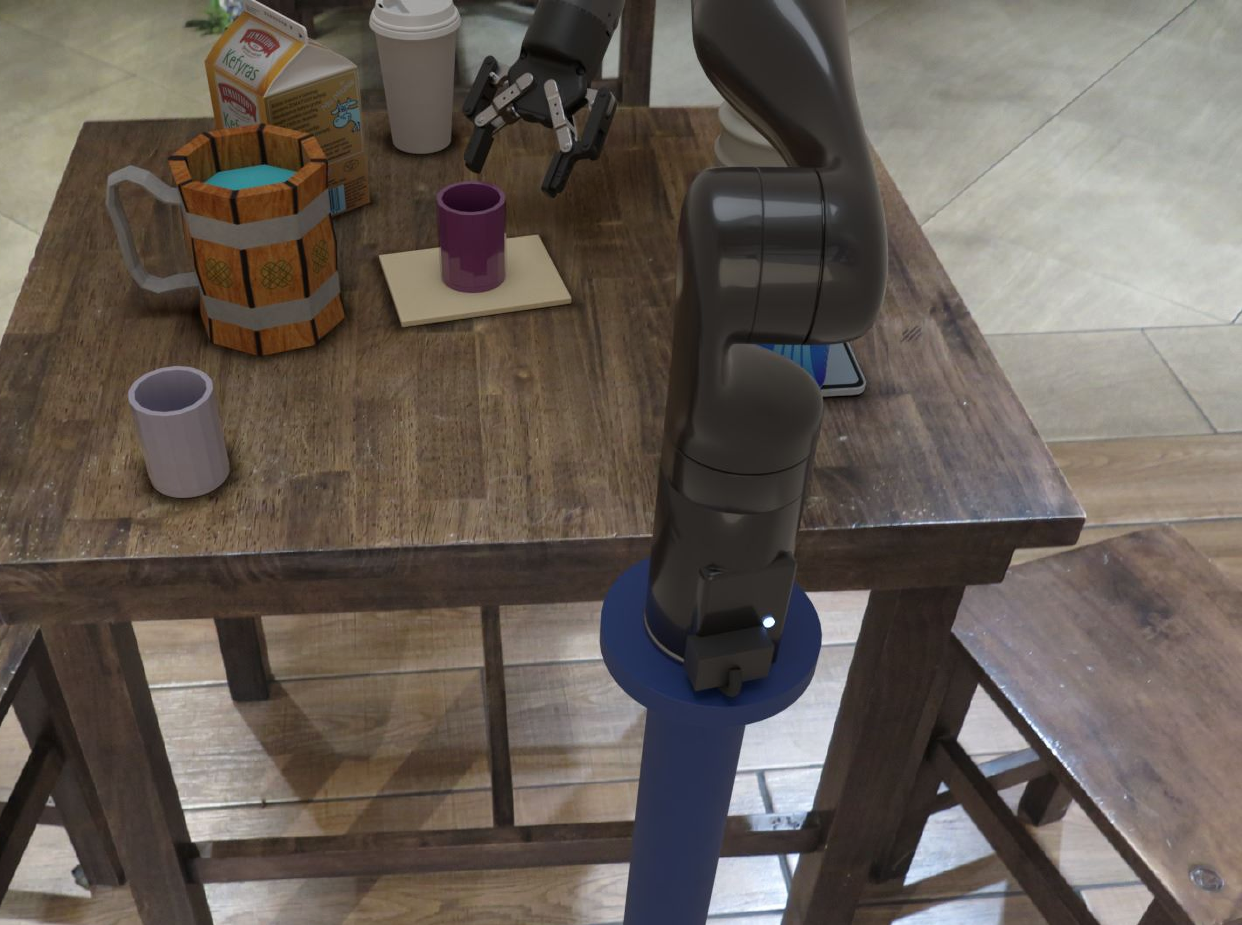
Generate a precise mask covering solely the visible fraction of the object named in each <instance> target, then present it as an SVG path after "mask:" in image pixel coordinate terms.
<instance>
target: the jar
mask: <svg viewBox="0 0 1242 925" xmlns="http://www.w3.org/2000/svg"><path fill="white" fill-rule="evenodd" d="M717 118H718V120H719V123H720V125H721V130H720V133H719V135H718V136H717V137H716V138H715V140H714V142H713V152H714V161H713V167H721V166H746V167H787V165H786V163H785V162H784V160H783V158H782V157H781V156H780V154H779V153H778V152H777V151H776V150H775V148H774V147H773V146H772V145H771V144H770V143H769V142H768V141H767V140H766V139H765V138H764V137H763V136H762V135H761V134H760V133H759V132H758V131H756V130H755V129H754V128H753V127H752V126H751V125H750V124H749V123H748V122H747V121H746V120H745V119H744V118H743V117H742V116H741V115H740V114H739V113H738V112H736V111H735V110H734V109H733V108H732V107H731V105H730V104H729V103H728V102H727V101H726V100H725V99H723V101H722V102H721V103H720V105H719V107H718V109H717Z"/></svg>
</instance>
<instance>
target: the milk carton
mask: <svg viewBox="0 0 1242 925" xmlns="http://www.w3.org/2000/svg"><path fill="white" fill-rule="evenodd" d="M242 3H243V9H244V10H243V11H242V13H241V14H240V15H239V16H238V17H237V18H235V20H234V21H233V22H232V23H231V24H230V25H229V26H228V27H227V29H225V31H224V32H223V33H222V34H221V36H220V37H219V38H218V39H217V40H216V42H215V43H214V45H213V46H212V48H211V49H210V51H209V53H208V54H207V56H206V57H205V59H204V67H205V73H206V80H207V84H208V90H209V95H210V96H209V97H210V100H211V101H210V102H211V108H212V113H213V118H214V124H215V131H216V130H222V129H229V128H235V127H241V126H247V125H254V124H260V123H264V124H268V125H273V126H278V127H282V128H287V129H291V130H296V131H300V132H305V133H310V134H313V135H314V137H315V138H316V140H317V142H318V144H319V145H320V147H321V149H322V151H323V153H324V154H325V156H326V158H327V160H328V195H329V203H330V212H331V217H332V218H334V217H337V216H339V215H342V214H344V213H347V212H349V211H352V210H354V209H356V208H359V207H363V206H365V205H367V204H370V203H371V198H370V197H371V196H370V188H369V186H370V185H369V176H368V165H367V154H366V143H365V142H366V141H365V133H364V132H365V131H364V120H363V110H362V100H361V88H360V76H359V67H358V66H357V65H356V64H355V63H354V62H352V61H351V60H350V59H349V58H347V57H345V56H344V55H342V54H340V53H338V52H337V51H334V50H333V49H331V48H329V47H327V46H325V45H323V44H321V43H320V42H318V41H316V40H314V39H312V38H311V37H309V35H308V30H307V28H306V26H304V25H302V24H300V23H299V22H297V21H295V20H293V19H291V18H289V17H287V16H285V15H283V14H282V13H280V12H278V11H276V10H275V9H272V8H271V7H269V6H267V5H265V4H264V3H261V2H259V1H257V0H242Z"/></svg>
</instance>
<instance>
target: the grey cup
mask: <svg viewBox="0 0 1242 925" xmlns="http://www.w3.org/2000/svg"><path fill="white" fill-rule="evenodd" d="M127 400H128V405H129V408H130V412H131V415H132V419H133V422H134V427H135V431H136V434H137V438H138V442H139V445H140V449H141V453H142V457H143V460H144V464H145V468H146V471H147V475H148V478H149V480H150V483H151V485H152V487H153V488H154V489H155V490H156V491H157V492H159V493H160V494H161V495H164V496H167V497H171V498H175V499H176V498H177V499H190V498H197V497H200V496H203V495H206V494H209V493H211V492H213V491H215V490H216V489H218V488H219V487H221V486H222V484H224V483H225V481H226V480H227V478H228V477H229V474H230V470H231V467H230V461H229V455H228V449H227V446H226V440H225V435H224V430H223V426H222V421H221V417H220V411H219V407H218V406H219V405H218V402H217V396H216V393H215V388H214V384H213V379H212V378H211V377H210V376H209V375H208V374H207V373H206V372H205V371H203V370H200V369H198V368H195V367H192V366H183V365H173V366H166V367H160V368H157V369H153V370H151V371H149V372H146V373H144V374H143V375H141V376H140V377H139V378H137V379H136V380H135V381H134V382H133V383H132V385H131V386H130V388H129V390H128V391H127Z"/></svg>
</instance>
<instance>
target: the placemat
mask: <svg viewBox="0 0 1242 925" xmlns="http://www.w3.org/2000/svg"><path fill="white" fill-rule="evenodd" d="M506 256H507V269H506V278H505V280H504V282H503V283H502V284H501V285H500V286H498V287H497V288H495V289H492V290H490V291H486V292H481V293H465V292H459V291H456V290H453V289H451V288H449V287H447V286H446V285H445V284H444V283H443V282H442V280H441V272H440V264H439V246H438V247H431V248H423V249H417V250H409V251H402V252H392V253H386V254H385V253H384V254H379V255H378V261H379V264H380V267H381V270H382V272H383V275H384V279H385V282H386V284H387V287H388V291H389V293H390V297H391V299H392V303H393V305H394V308H395V311H396V315H397V317H398V320H399V323H400V326H401V328H407V327H415V326H420V325H429V324H435V323H443V322H450V321H456V320H463V319H471V318H476V317H477V318H479V317H484V316H490V315H491V316H492V315H499V314H506V313H507V314H508V313H514V312H521V311H527V310H533V309H541V308H548V307H556V306H563V305H570V304H572V295H571V294H570V292H569V290H568V288H567V287H566V285H565V283H564V281H563V279H562V277H561V275H560V273H559V271H558V269H557V268H556V266H555V264H554V262H553V260H552V258H551V256H550V255H549V253H548V250H547V248H546V246H545V244H544V243H543V242H542V239H541V237H540V235H539V234H531V235H524V236H517V237H516V236H515V237H506Z"/></svg>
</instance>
